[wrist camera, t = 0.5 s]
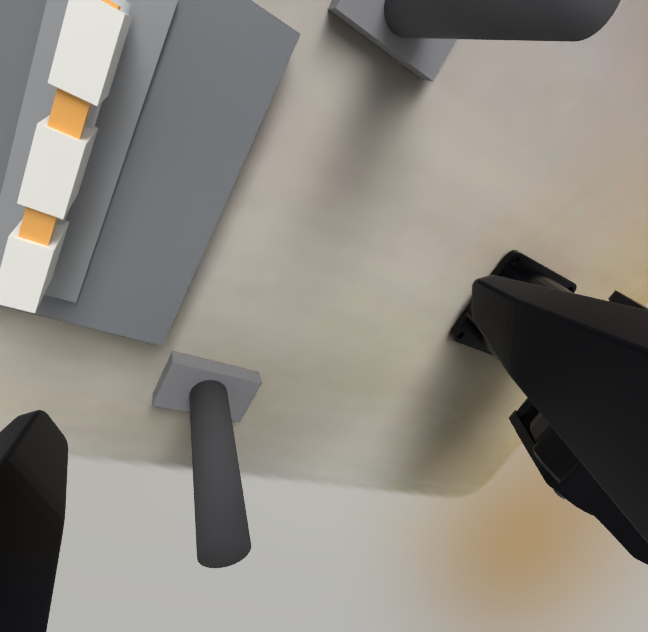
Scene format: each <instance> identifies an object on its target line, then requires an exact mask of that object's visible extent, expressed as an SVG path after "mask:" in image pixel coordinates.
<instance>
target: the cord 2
mask: <svg viewBox="0 0 648 632" xmlns="http://www.w3.org/2000/svg"><path fill="white" fill-rule="evenodd" d="M261 384H262V383H261V379H260V375H259V372H256V371H252V370H247V369H243V368H239V367H235V366H231V365H227V364H223V363H219V362H215V361H211V360H207V359H203V358H199V357H195V356H191V355H187V354H183V353H179V352H175V351H172V353H171V355H170V357H169V360H168V362H167V364H166V366H165V368H164V370H163V373H162V375H161V377H160V379H159V381H158V384H157V386H156V388H155V390H154V392H153V404H152V406H155V407H161V408H166V409H172V410H177V411H183V412H188V413H190V421H191V441H192V462H193V482H194V502H195V523H196V543H197V559H198V562H199V563H200V564H201V565H203V566H205V567H209V568H221V567H226V566H230V565H232V564H235V563H237V562H239V561H240V560H242V559H243V558H245V557H246V556H247V555H248V553H249V552H250V549H251V542H250V536H249V529H248V522H247V516H246V510H245V504H244V497H243V490H242V485H241V477H240V471H239V464H238V458H237V451H236V445H235V439H234V432H233V426H232V421H237V422H240V421H241V419H242V417H243V415H244V414H245V412H246V410H247V408H248V407H249V405H250V403H251V401H252V399H253V398H254V396H255V394H256V392H257V391H258V389H259V387H260V385H261Z"/></svg>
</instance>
